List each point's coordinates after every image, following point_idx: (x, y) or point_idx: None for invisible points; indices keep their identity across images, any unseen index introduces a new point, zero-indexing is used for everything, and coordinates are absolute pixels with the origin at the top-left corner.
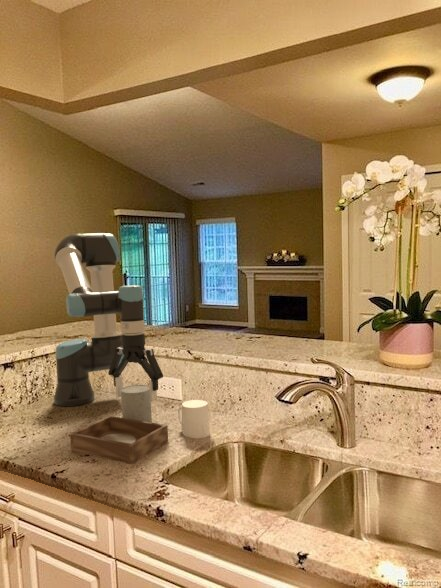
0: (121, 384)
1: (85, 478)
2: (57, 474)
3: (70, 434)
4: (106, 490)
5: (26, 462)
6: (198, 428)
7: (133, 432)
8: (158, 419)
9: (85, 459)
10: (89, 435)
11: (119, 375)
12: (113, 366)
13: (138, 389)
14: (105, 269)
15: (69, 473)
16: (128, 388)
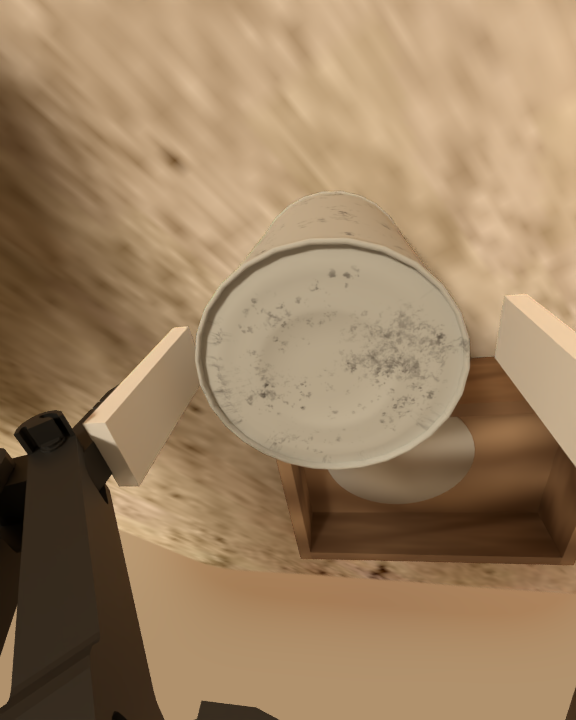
0: (153, 387)
1: (462, 575)
2: (385, 578)
3: (301, 556)
4: (548, 591)
5: (269, 566)
6: None
7: None
8: (372, 122)
9: None
10: (303, 485)
11: (79, 440)
12: (10, 608)
13: (349, 362)
14: None
15: (407, 571)
16: (246, 377)
